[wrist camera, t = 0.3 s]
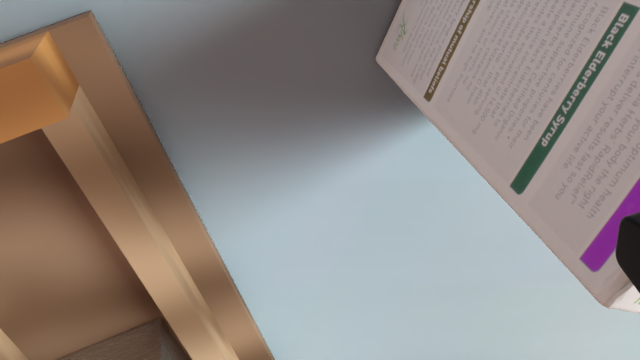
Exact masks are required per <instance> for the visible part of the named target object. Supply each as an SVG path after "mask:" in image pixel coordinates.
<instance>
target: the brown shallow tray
mask: <svg viewBox="0 0 640 360" xmlns="http://www.w3.org/2000/svg"><path fill="white" fill-rule="evenodd" d="M159 318H161V319H162V321H163V322H164V324H165V325H166V327H167V328H168V330H169V331H170V333H171V334H172V336H173V337H174V339H175V340H176V342H177V344H178V345H179V347H180V348H181V350H182V351H183V353H184V354H185V356H186V357H187V359H188V360H275V359H274V357H273V355H272V353H271V352H270V350H269V348H268V346H267V344H266V342H265V340H264V338H263V336H262V334H261V333H260V331H259V329H258V327H257V325H256V323H255V321H254V319H253V317H252V315H251V314H250V312H249V310H248V308H247V306H246V304H245V302H244V300H243V298H242V296H241V294H240V293H239V291H238V289H237V287H236V285H235V283H234V281H233V279H232V277H231V275H230V274H229V272H228V270H227V268H226V266H225V264H224V262H223V260H222V258H221V256H220V255H219V253H218V251H217V249H216V247H215V245H214V243H213V241H212V239H211V237H210V235H209V234H208V232H207V230H206V228H205V226H204V224H203V222H202V220H201V218H200V216H199V215H198V213H197V211H196V209H195V207H194V205H193V203H192V201H191V199H190V197H189V196H188V194H187V192H186V190H185V188H184V186H183V184H182V182H181V180H180V178H179V176H178V175H177V173H176V171H175V169H174V167H173V165H172V163H171V161H170V159H169V157H168V156H167V154H166V152H165V150H164V148H163V146H162V144H161V142H160V140H159V138H158V137H157V135H156V133H155V131H154V129H153V127H152V125H151V123H150V121H149V119H148V117H147V116H146V114H145V112H144V110H143V108H142V106H141V104H140V102H139V100H138V98H137V97H136V95H135V93H134V91H133V89H132V87H131V85H130V83H129V81H128V79H127V78H126V76H125V74H124V72H123V70H122V68H121V66H120V64H119V62H118V60H117V58H116V57H115V55H114V53H113V51H112V49H111V47H110V45H109V43H108V41H107V39H106V38H105V36H104V34H103V32H102V30H101V28H100V26H99V24H98V22H97V20H96V19H95V17H94V15H93V13H92V11H88V12H85V13H83V14H80V15H77V16H75V17H72V18H69V19H66V20H64V21H61V22H58V23H56V24H53V25H50V26H47V27H45V28H42V29H39V30H37V31H34V32H31V33H28V34H26V35H23V36H20V37H18V38H15V39H12V40H9V41H7V42H4V43H1V44H0V360H57V359H60V358H62V357H65V356H67V355H70V354H72V353H75V352H77V351H80V350H82V349H85V348H87V347H90V346H92V345H94V344H97V343H99V342H102V341H104V340H107V339H109V338H112V337H114V336H117V335H119V334H122V333H124V332H127V331H129V330H132V329H134V328H137V327H139V326H141V325H144V324H146V323H149V322H151V321H154V320H156V319H159Z"/></svg>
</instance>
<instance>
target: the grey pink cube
mask: <svg viewBox="0 0 640 360" xmlns="http://www.w3.org/2000/svg"><path fill="white" fill-rule="evenodd" d="M57 360H188V359H187V357H186V356H185V354H184V353H183V351H182V350H181V348H180V347H179V345H178V344H177V342H176V340H175V339H174V337H173V336H172V334H171V333H170V331H169V330H168V328H167V327H166V325H165V324H164V322H163V321H162V319H161V318H159V319H156V320H154V321H151V322H149V323H146V324H144V325H141V326H139V327H137V328H134V329H132V330H129V331H127V332H124V333H122V334H119V335H117V336H114V337H112V338H109V339H107V340H104V341H102V342H99V343H97V344H94V345H92V346H90V347H87V348H85V349H82V350H80V351H77V352H75V353H72V354H70V355H67V356H65V357H62V358H60V359H57Z"/></svg>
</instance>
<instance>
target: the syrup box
mask: <svg viewBox="0 0 640 360" xmlns="http://www.w3.org/2000/svg"><path fill="white" fill-rule="evenodd" d="M376 62H377V63H378V64H379V65H380V66H381V67H382V68H383V69H384V70H385V72H386V73H387V74H388V75H389V76H390V77H391V79H393V80H394V82H395V83H396V84H397V85H398V86H399V87H400V88H401V90H402V91H403V92H404V93H405V94H406V95H407V96H408V97H409V98H410V100H411V101H412V102H413V103H414V104H415V105H416V106H417V107H418V108H419V109H420V110H421V111H422V113H423V114H424V115H425V116H426V117H427V118H428V119H429V120H430V121H431V122H432V124H433V125H434V126H435V127H436V128H437V129H438V130H439V131H440V132H441V133H442V134H443V135H444V136H445V137H446V138H447V140H448V141H449V142H450V143H451V144H452V145H453V146H454V147H455V148H456V149H457V150H458V151H459V152H460V154H461V155H462V156H463V157H464V158H465V159H466V160H467V161H468V162H469V163H470V164H471V165H472V166H473V167H474V168H475V170H476V171H477V172H478V173H479V174H480V175H481V176H482V177H483V178H484V179H485V180H486V181H487V182H488V183H489V184H490V185H491V186H492V188H493V189H494V190H495V191H496V192H497V193H498V194H499V195H500V196H501V197H502V198H503V199H504V200H505V201H506V202H507V204H508V205H509V206H510V207H511V208H512V209H513V210H514V211H515V212H516V213H517V214H518V215H519V217H520V218H521V219H522V220H523V221H524V222H525V223H526V224H527V225H528V226H529V227H530V228H531V229H532V231H533V232H534V233H535V234H536V235H537V236H538V237H539V238H540V239H541V240H542V241H543V242H544V243H545V244H546V246H547V247H548V248H549V249H550V250H551V251H552V252H553V253H554V254H555V255H556V256H557V258H558V259H559V260H560V261H561V262H562V263H563V264H564V265H565V266H566V267H567V268H568V269H569V270H570V271H571V273H572V274H573V275H574V276H575V277H576V278H577V279H578V280H579V281H580V282H581V284H582V285H583V286H584V287H585V288H586V289H587V290H588V291H589V292H590V294H591V295H592V296H593V297H594V298H595V299H596V300H597V301H598V302H599V303H600V304H601V305H603V306H605V307H607V308H609V309H619V310H624V311H630V312H635V313H640V293H639V292H638V291H637V289H636V288H635V286H634V285H633V284H632V282H631V281H630V280H629V278H628V277H627V276H626V274H625V273H624V272H623V270H622V269H621V267H620V266H619V264H618V262H617V259H616V254H615V250H616V243H617V236H618V229H619V223H620V221H621V219H622V218H623V217H625V216H628V215H631V214H634V213H638V212H640V0H402V2H401V4H400V6H399V8H398V10H397V12H396V15H395V17H394V19H393V21H392V23H391V25H390V28H389V30H388V32H387V34H386V36H385V38H384V40H383V43H382V45H381V47H380V50H379V52H378V54H377V56H376Z"/></svg>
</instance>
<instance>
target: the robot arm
mask: <svg viewBox="0 0 640 360" xmlns="http://www.w3.org/2000/svg"><path fill="white" fill-rule="evenodd" d="M615 254H616V259H617V262H618V264H619V266H620V267H621V269H622V270H623V272H624V273H625V274H626V276H627V277H628V278H629V280H630V281H631V282H632V284H633V285H634V286H635V288H636V289H637V291H638V292H639V293H640V212H638V213H634V214H631V215H628V216H625V217H623V218H622V219H621V221H620V223H619V229H618V236H617V243H616V250H615Z"/></svg>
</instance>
